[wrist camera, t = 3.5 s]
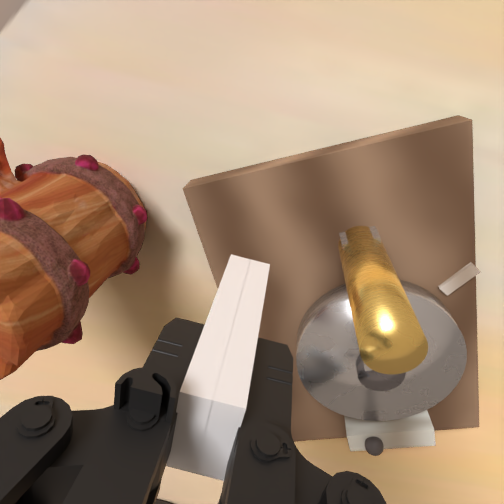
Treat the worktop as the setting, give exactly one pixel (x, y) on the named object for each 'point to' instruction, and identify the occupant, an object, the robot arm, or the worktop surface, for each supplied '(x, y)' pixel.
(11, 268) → the mug
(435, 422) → the stand
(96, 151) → the worktop surface
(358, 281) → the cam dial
